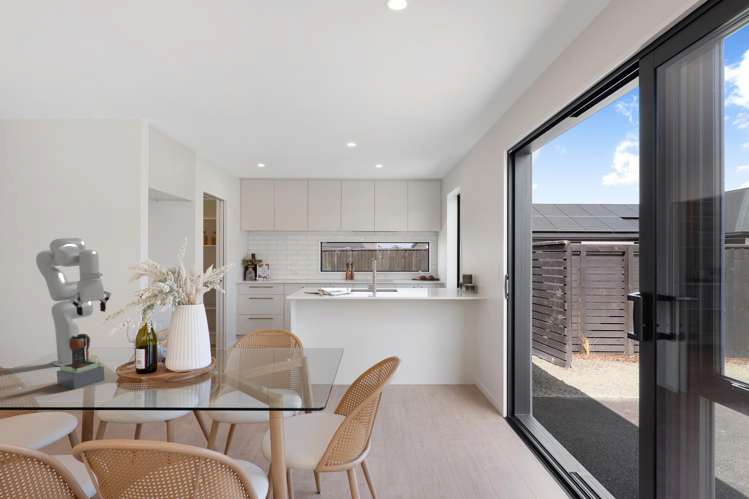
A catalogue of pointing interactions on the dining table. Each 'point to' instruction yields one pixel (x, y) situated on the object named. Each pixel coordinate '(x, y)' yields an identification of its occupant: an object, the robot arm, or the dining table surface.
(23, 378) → the dining table surface
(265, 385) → the dining table surface
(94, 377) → the stand
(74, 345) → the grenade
